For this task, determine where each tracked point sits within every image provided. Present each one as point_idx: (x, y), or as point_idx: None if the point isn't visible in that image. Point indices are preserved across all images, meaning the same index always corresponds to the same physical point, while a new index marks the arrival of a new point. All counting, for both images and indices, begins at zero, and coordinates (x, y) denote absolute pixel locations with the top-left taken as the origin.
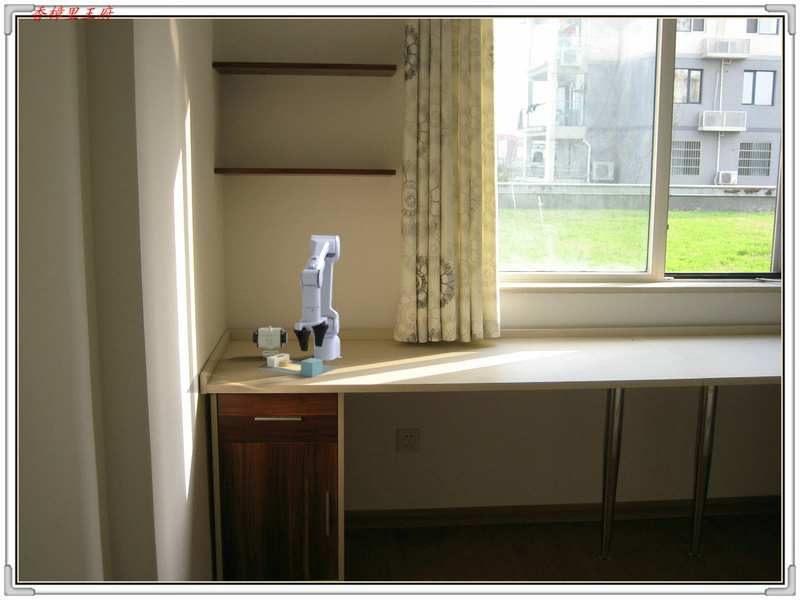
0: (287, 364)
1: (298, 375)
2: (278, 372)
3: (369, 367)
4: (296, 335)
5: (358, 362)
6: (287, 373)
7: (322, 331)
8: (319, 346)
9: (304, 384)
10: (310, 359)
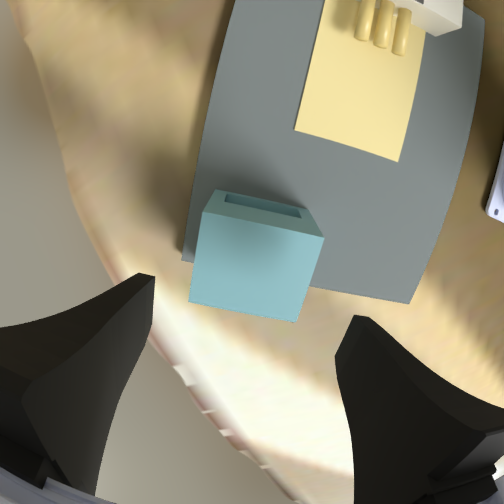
0: None
1: (201, 181)
2: (223, 46)
3: (441, 368)
4: (19, 332)
5: (501, 311)
6: (217, 103)
7: (361, 478)
8: (338, 349)
9: (118, 256)
10: (273, 255)
